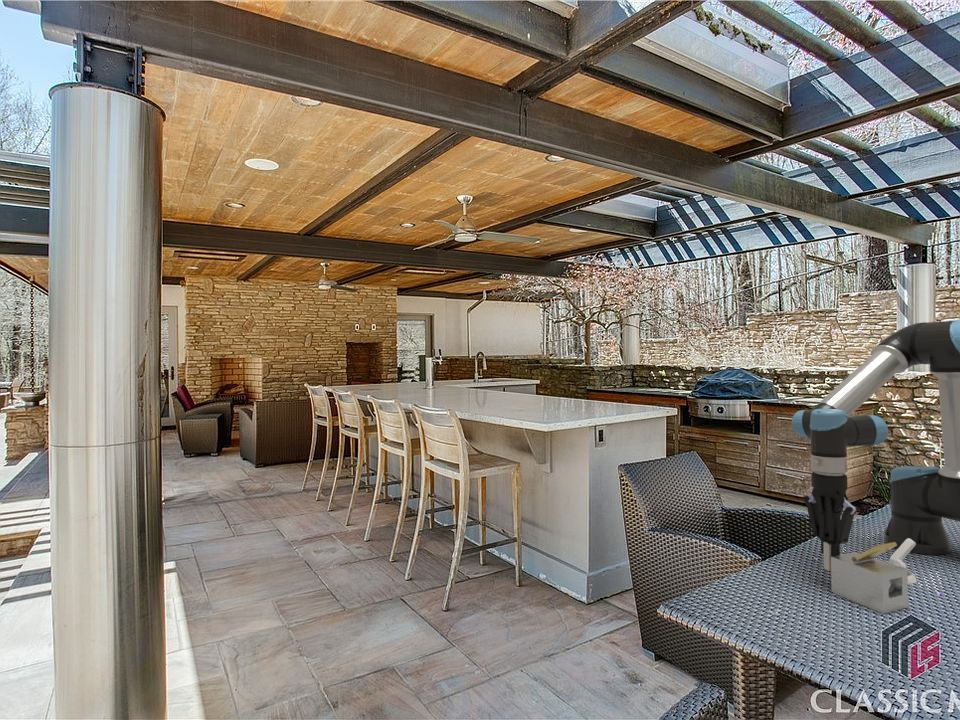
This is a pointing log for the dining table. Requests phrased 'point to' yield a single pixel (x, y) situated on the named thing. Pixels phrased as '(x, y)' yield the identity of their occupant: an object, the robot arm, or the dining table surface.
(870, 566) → the block
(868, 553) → the plate
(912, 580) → the grey ring with handle
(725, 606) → the dining table surface
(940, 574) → the dining table surface
